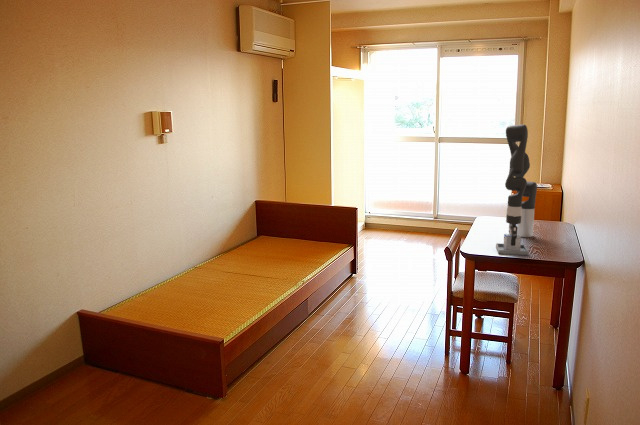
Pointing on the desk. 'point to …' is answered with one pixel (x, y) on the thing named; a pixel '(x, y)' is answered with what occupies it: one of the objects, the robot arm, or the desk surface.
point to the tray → (509, 252)
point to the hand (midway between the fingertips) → (512, 243)
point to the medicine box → (508, 243)
